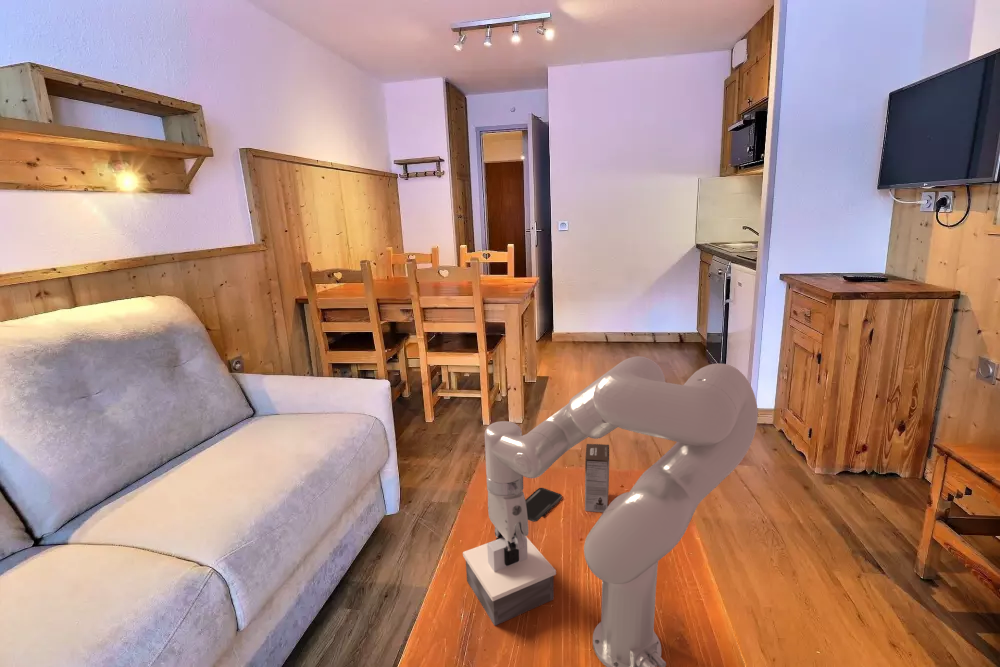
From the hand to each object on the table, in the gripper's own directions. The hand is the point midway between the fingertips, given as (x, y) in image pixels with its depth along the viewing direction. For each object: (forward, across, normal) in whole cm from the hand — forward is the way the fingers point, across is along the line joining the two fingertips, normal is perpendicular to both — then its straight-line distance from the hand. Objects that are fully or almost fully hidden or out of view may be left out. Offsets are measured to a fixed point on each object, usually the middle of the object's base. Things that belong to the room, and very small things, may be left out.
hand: (507, 557), depth 106 cm
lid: (+2, 0, 0) cm, 2 cm away
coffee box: (+9, +17, -37) cm, 42 cm away
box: (+9, 0, 0) cm, 9 cm away
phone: (+10, +24, -22) cm, 34 cm away
